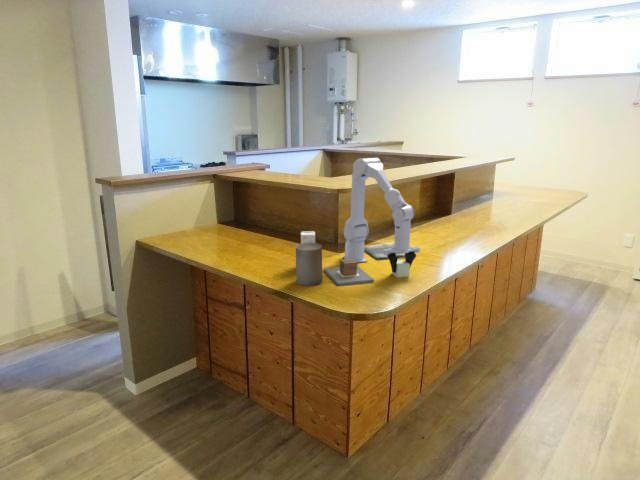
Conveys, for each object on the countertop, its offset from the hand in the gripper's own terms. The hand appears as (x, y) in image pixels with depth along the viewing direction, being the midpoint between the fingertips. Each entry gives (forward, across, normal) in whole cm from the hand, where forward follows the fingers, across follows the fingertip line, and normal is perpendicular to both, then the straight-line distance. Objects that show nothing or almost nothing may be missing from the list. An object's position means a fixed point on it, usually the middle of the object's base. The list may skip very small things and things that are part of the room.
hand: (400, 271), depth 174 cm
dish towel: (+2, +8, +29) cm, 30 cm away
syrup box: (+2, -32, +19) cm, 37 cm away
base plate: (+1, -20, +4) cm, 20 cm away
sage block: (+1, 0, 0) cm, 1 cm away
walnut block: (0, -20, +4) cm, 20 cm away
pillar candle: (+2, -36, +2) cm, 36 cm away
